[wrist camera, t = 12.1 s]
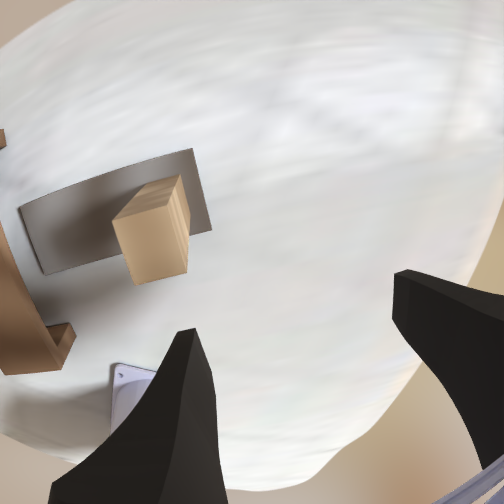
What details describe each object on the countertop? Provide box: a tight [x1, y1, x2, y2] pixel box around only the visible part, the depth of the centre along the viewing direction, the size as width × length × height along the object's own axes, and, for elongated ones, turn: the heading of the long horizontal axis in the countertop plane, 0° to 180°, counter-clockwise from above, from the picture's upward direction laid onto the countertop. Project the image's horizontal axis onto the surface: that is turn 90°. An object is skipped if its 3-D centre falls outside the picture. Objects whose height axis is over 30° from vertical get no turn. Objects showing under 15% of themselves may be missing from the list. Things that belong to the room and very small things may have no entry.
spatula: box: [20, 148, 212, 285], centre depth 14 cm, size 12×5×9 cm, turn 101°
